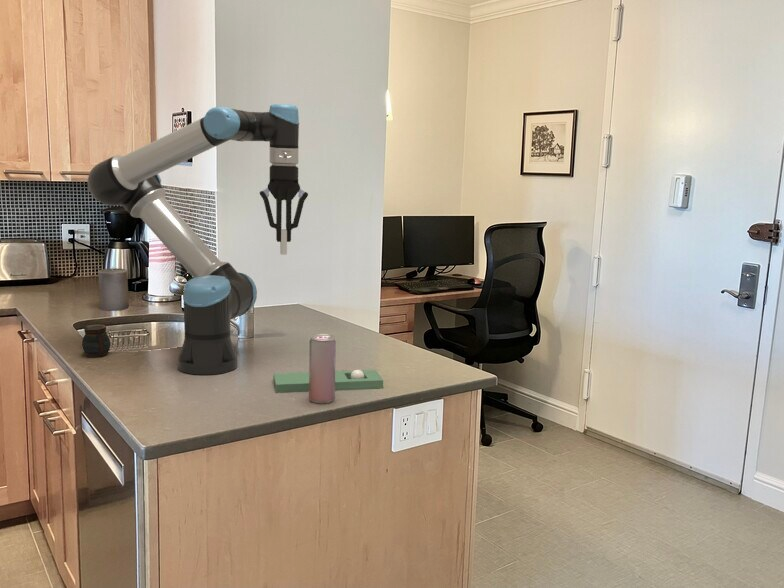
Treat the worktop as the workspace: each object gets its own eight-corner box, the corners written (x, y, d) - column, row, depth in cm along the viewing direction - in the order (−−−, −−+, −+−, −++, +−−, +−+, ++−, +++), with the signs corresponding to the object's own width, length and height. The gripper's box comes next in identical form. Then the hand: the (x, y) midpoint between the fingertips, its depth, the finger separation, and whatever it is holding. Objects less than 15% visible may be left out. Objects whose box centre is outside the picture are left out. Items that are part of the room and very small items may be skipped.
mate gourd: (116, 355, 192) (114, 320, 190) (88, 360, 187) (86, 324, 185) (104, 349, 197) (102, 315, 195) (76, 355, 192) (74, 319, 190)
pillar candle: (118, 304, 258) (116, 263, 255) (134, 307, 252) (132, 266, 249) (94, 308, 250) (91, 266, 247) (110, 312, 245) (107, 270, 242)
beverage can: (309, 395, 165) (310, 333, 162) (334, 395, 165) (335, 334, 163) (308, 404, 159) (309, 340, 156) (334, 404, 159) (336, 340, 157)
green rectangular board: (276, 392, 166) (276, 384, 166) (273, 381, 175) (273, 373, 174) (382, 388, 172) (383, 380, 172) (375, 377, 181) (375, 369, 180)
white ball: (364, 366, 175) (366, 378, 173) (362, 374, 178) (364, 385, 175) (350, 367, 174) (352, 378, 172) (348, 375, 177) (350, 386, 175)
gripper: (259, 164, 179) (259, 255, 184) (310, 166, 182) (309, 255, 187) (258, 164, 186) (258, 252, 191) (307, 165, 190) (306, 252, 194)
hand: (283, 253), depth 189 cm, fingers closed
